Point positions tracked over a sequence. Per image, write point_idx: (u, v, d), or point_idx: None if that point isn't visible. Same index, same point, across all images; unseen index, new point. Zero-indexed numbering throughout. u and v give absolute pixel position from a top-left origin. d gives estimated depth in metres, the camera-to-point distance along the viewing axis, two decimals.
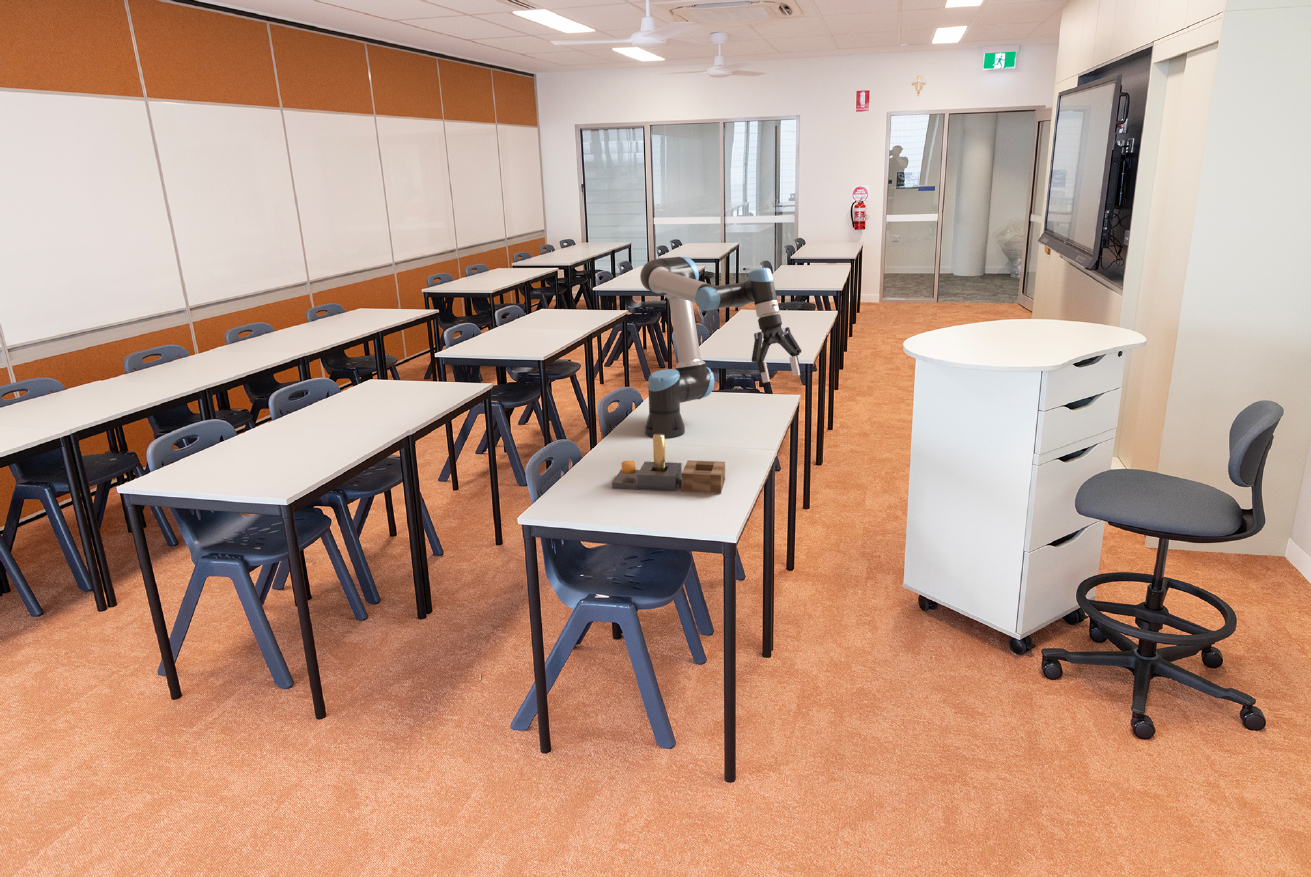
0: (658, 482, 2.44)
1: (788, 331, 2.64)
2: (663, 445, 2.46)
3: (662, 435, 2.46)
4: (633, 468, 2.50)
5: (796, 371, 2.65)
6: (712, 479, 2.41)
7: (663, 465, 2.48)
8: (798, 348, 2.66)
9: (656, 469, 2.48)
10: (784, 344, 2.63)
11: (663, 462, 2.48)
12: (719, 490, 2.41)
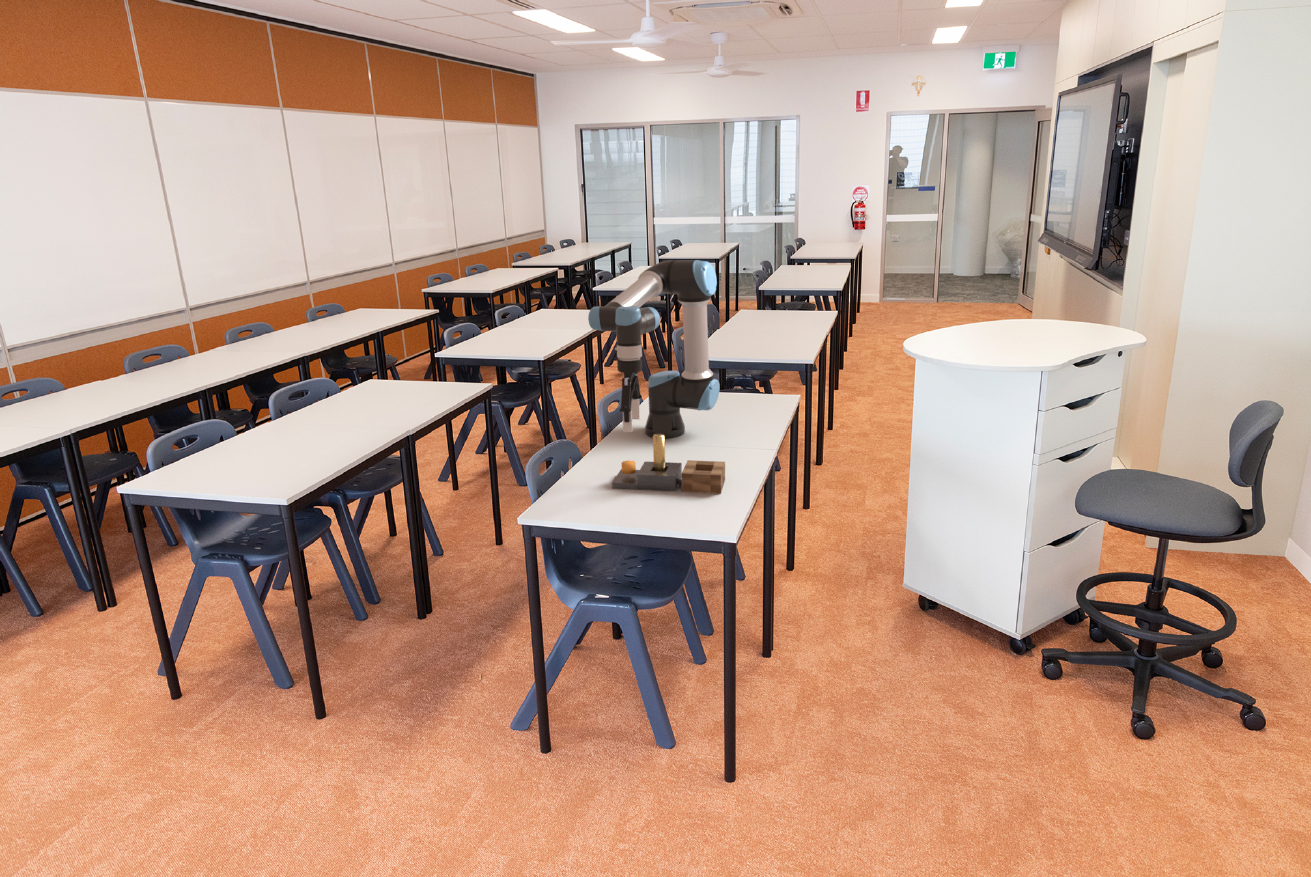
0: (658, 482, 2.44)
1: None
2: (663, 445, 2.46)
3: (662, 435, 2.46)
4: (633, 468, 2.50)
5: None
6: (712, 479, 2.41)
7: (663, 465, 2.48)
8: None
9: (656, 469, 2.48)
10: None
11: (663, 462, 2.48)
12: (719, 490, 2.41)
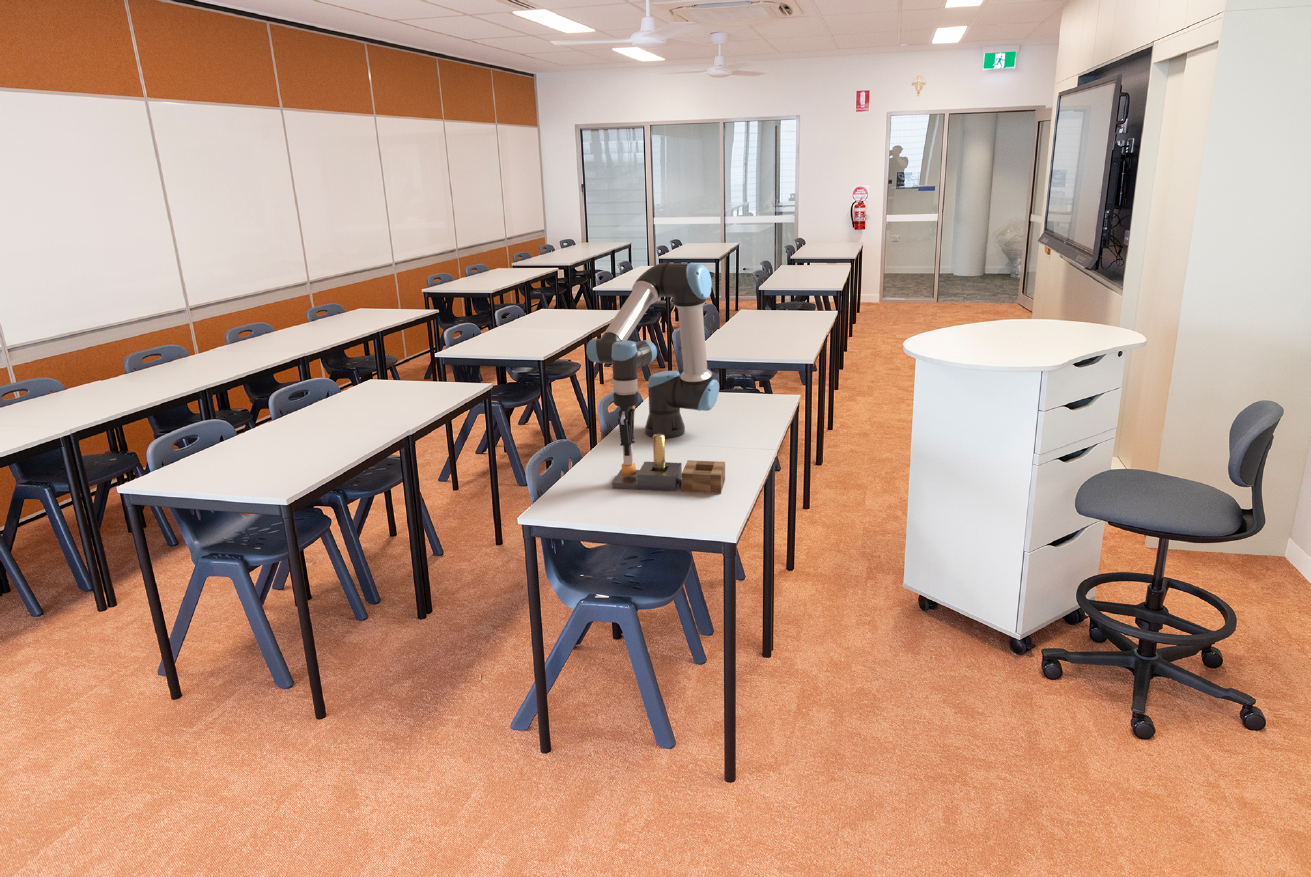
0: (658, 482, 2.44)
1: None
2: (663, 445, 2.46)
3: (662, 435, 2.46)
4: (633, 470, 2.50)
5: None
6: (712, 479, 2.41)
7: (663, 465, 2.48)
8: None
9: (656, 469, 2.48)
10: None
11: (663, 462, 2.48)
12: (719, 490, 2.41)
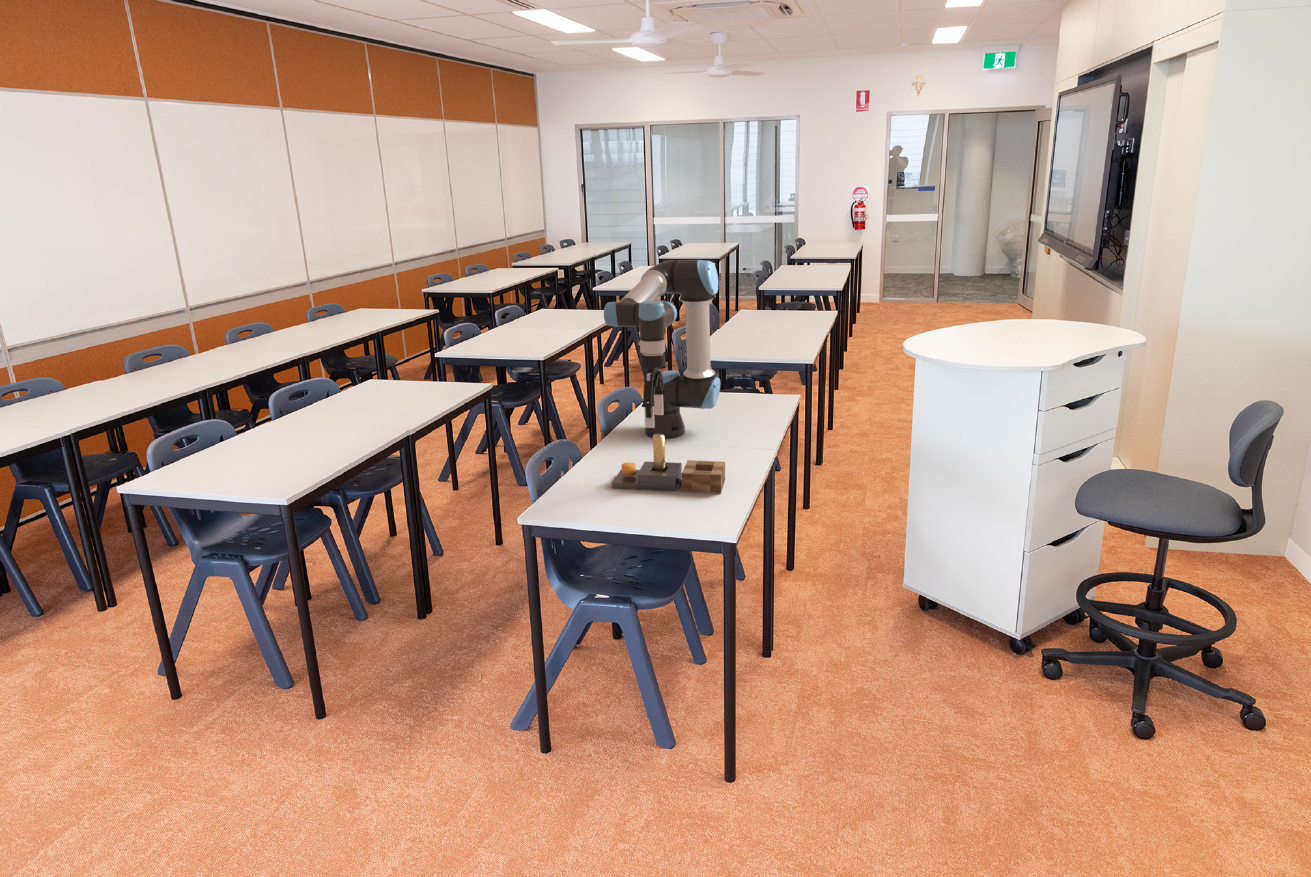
0: (658, 482, 2.44)
1: None
2: (663, 445, 2.46)
3: (662, 435, 2.46)
4: (633, 470, 2.50)
5: None
6: (712, 479, 2.41)
7: (663, 465, 2.48)
8: None
9: (656, 469, 2.48)
10: None
11: (663, 462, 2.48)
12: (719, 490, 2.41)
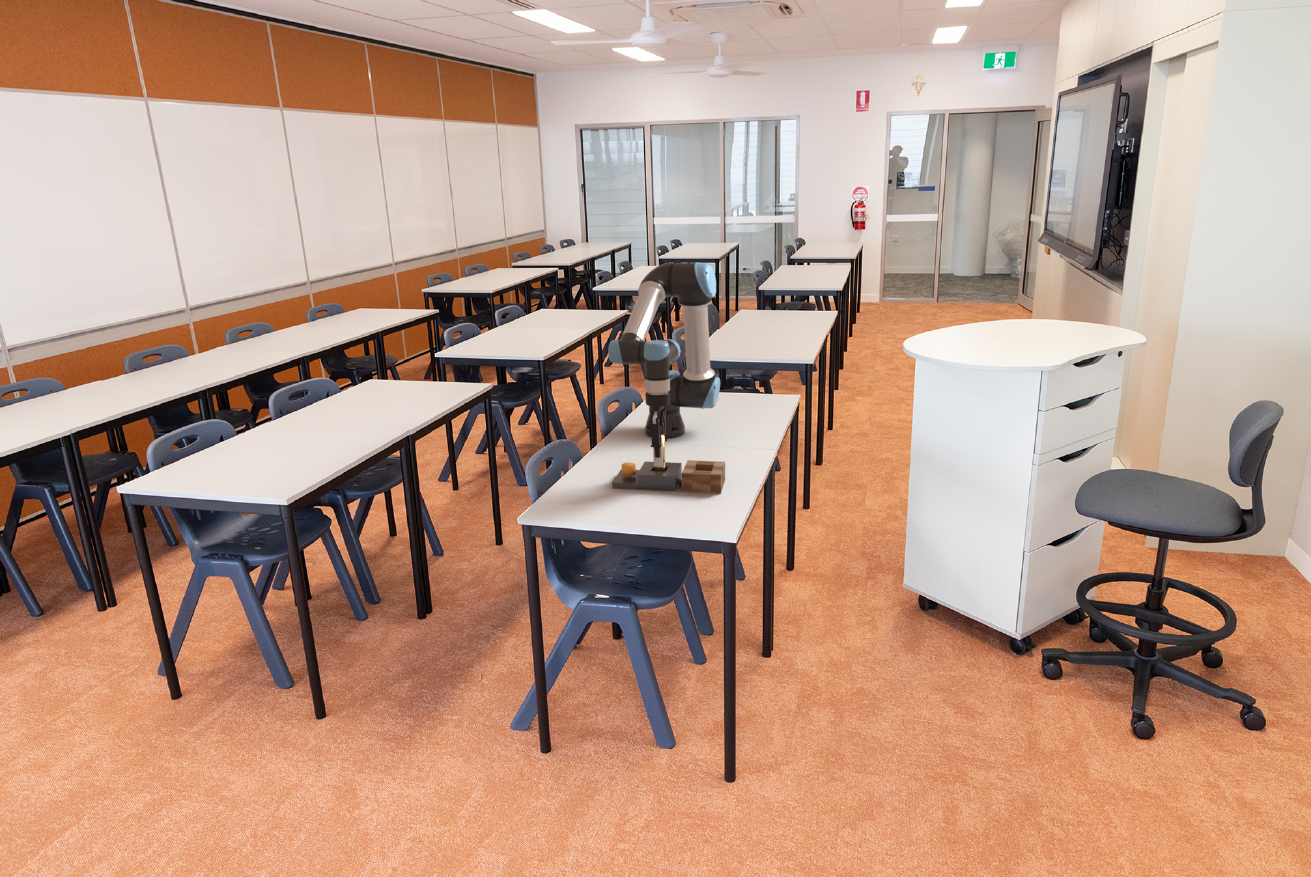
0: (658, 482, 2.44)
1: None
2: (663, 445, 2.46)
3: (662, 435, 2.46)
4: (633, 470, 2.50)
5: None
6: (712, 479, 2.41)
7: (663, 465, 2.48)
8: None
9: (656, 469, 2.48)
10: None
11: (663, 462, 2.48)
12: (719, 490, 2.41)
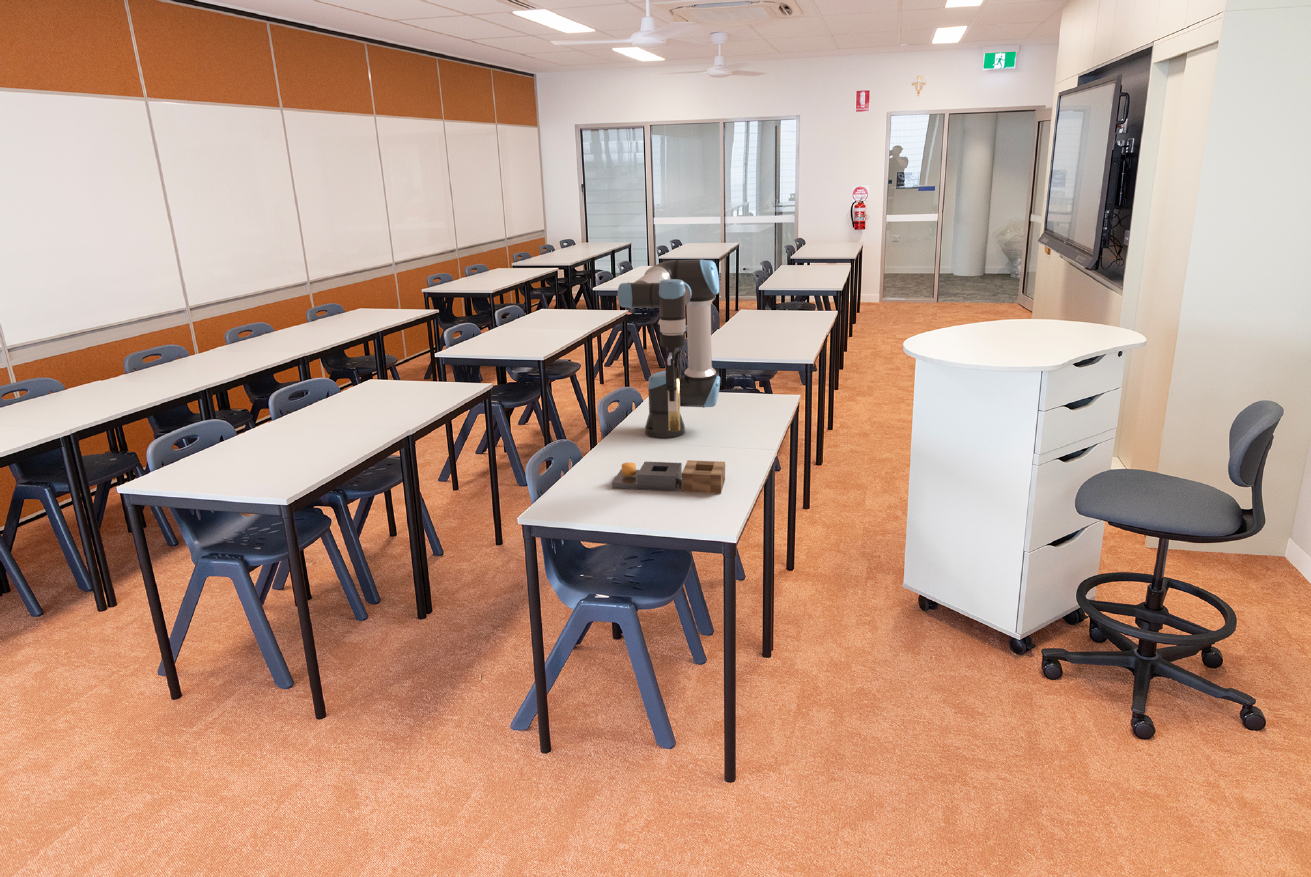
0: (658, 482, 2.44)
1: None
2: (678, 389, 2.39)
3: (677, 378, 2.39)
4: (633, 470, 2.50)
5: None
6: (712, 479, 2.41)
7: (678, 410, 2.41)
8: None
9: (670, 414, 2.41)
10: None
11: (678, 407, 2.41)
12: (719, 490, 2.41)
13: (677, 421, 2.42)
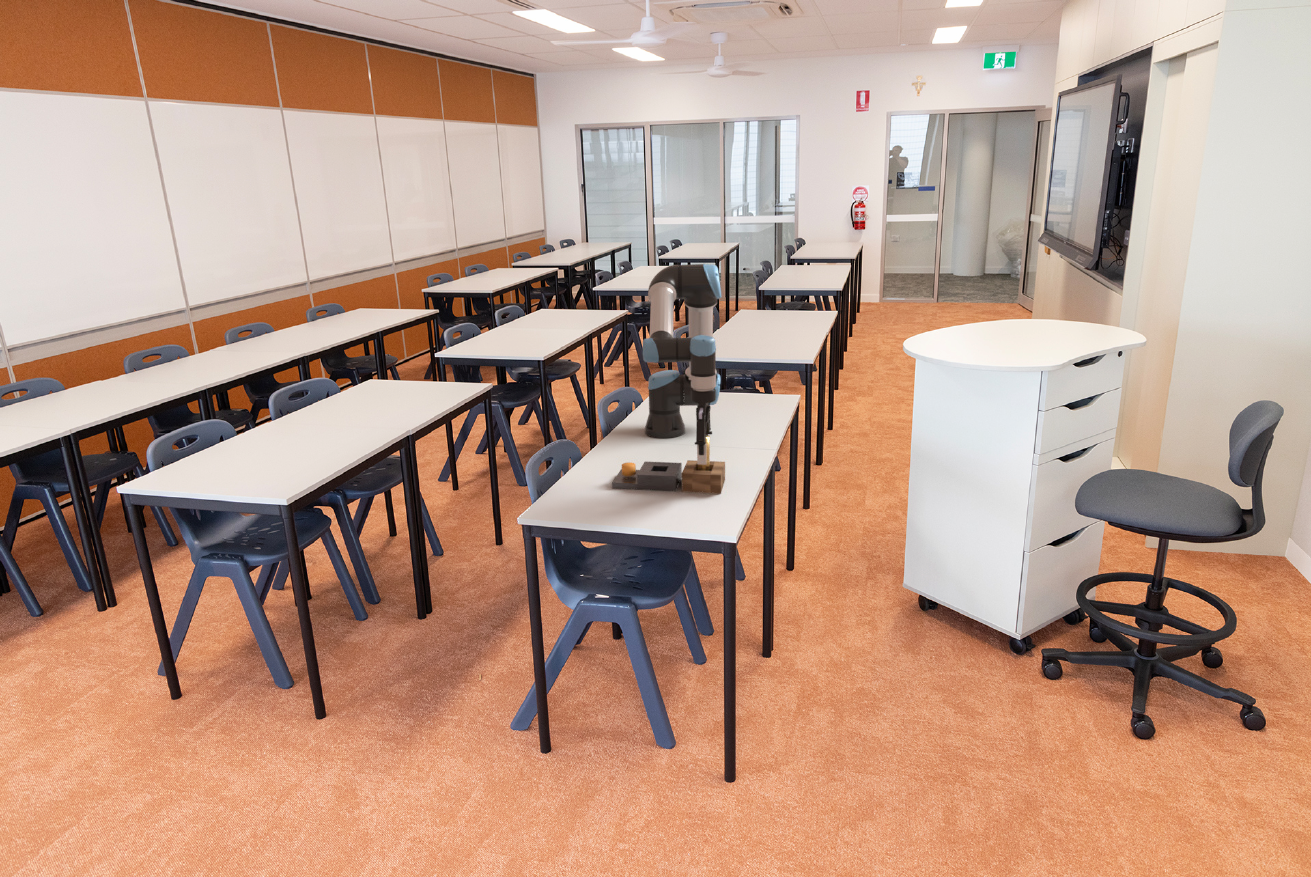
0: (658, 482, 2.44)
1: None
2: (708, 446, 2.43)
3: (707, 436, 2.43)
4: (633, 470, 2.50)
5: None
6: (712, 479, 2.41)
7: (708, 467, 2.45)
8: None
9: None
10: None
11: (708, 464, 2.45)
12: (719, 490, 2.41)
13: None
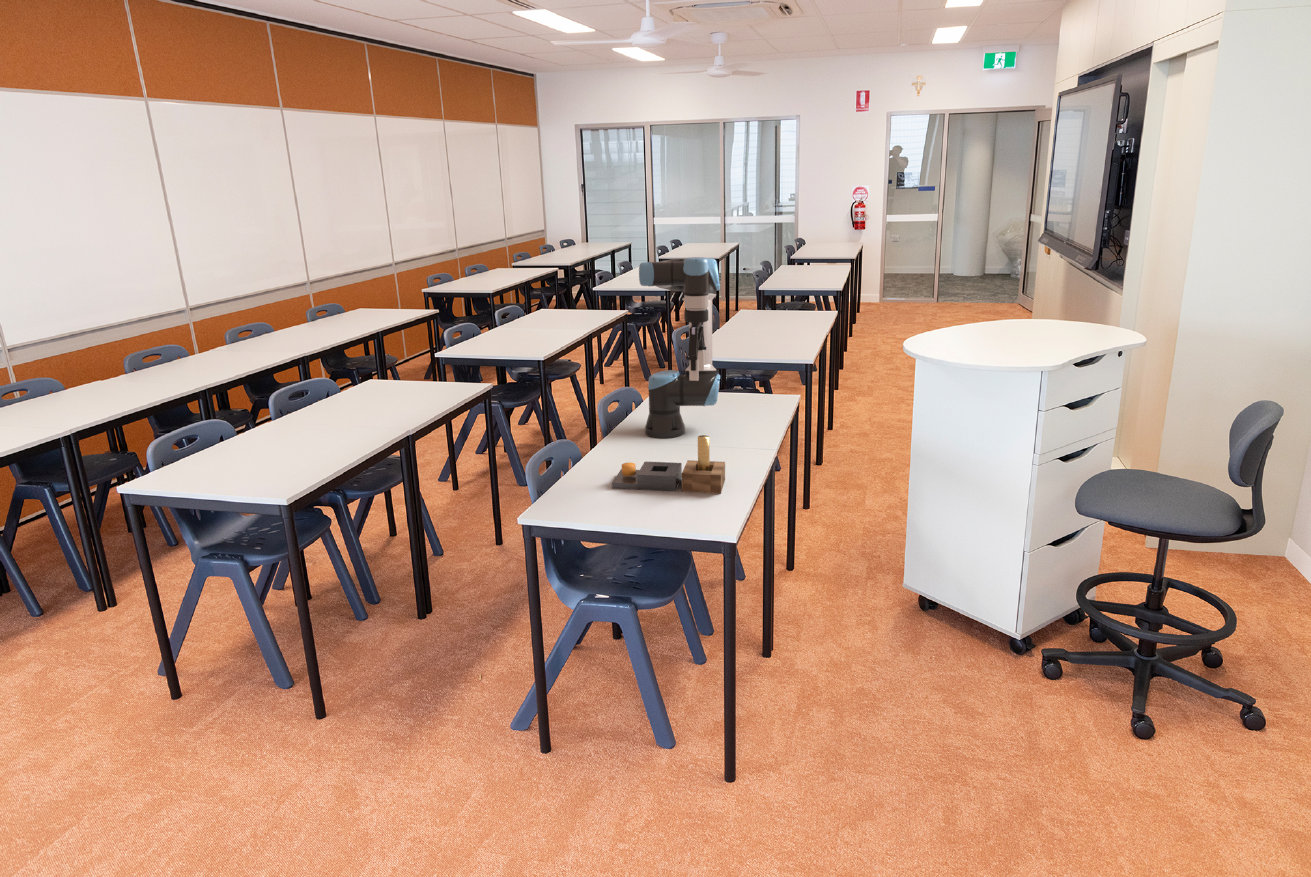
0: (658, 482, 2.44)
1: (689, 332, 2.43)
2: (708, 446, 2.43)
3: (707, 437, 2.43)
4: (633, 470, 2.50)
5: None
6: (712, 479, 2.41)
7: (707, 467, 2.45)
8: None
9: None
10: None
11: (708, 464, 2.45)
12: (719, 490, 2.41)
13: None
